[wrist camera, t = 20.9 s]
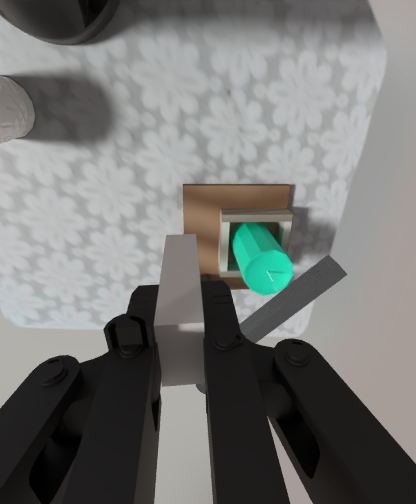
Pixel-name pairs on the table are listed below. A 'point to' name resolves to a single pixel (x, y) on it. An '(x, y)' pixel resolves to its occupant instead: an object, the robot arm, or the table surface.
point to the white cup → (14, 111)
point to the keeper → (288, 300)
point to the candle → (260, 258)
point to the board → (232, 222)
